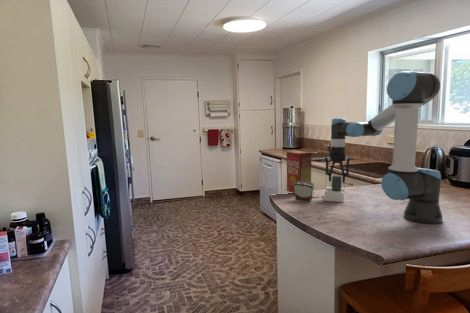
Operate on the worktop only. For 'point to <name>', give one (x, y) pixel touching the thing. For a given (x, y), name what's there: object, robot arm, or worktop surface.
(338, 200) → the socket block
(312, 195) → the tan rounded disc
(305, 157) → the food packaging
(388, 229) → the worktop surface
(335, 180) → the dark gray rounded peg
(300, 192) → the food container
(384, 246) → the worktop surface
